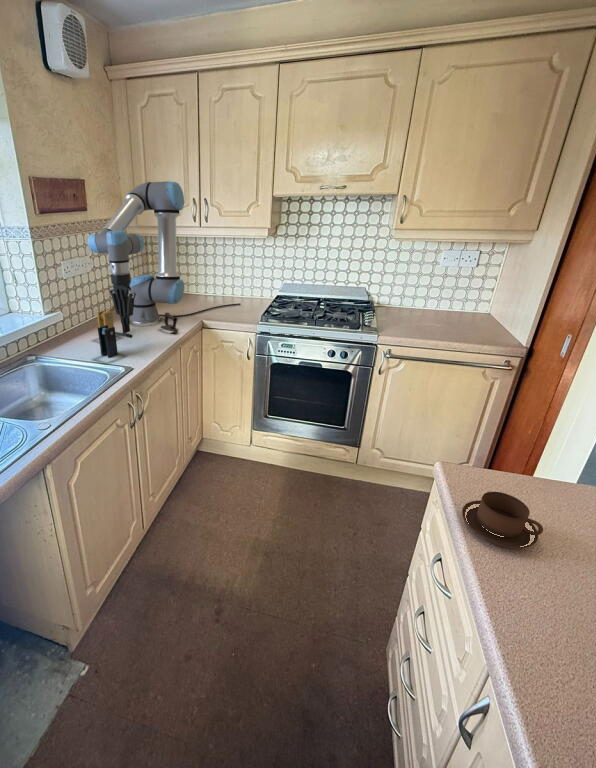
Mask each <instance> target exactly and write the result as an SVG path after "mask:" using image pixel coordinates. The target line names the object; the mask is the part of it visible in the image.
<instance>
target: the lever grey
mask: <svg viewBox="0 0 596 768" xmlns="http://www.w3.org/2000/svg"><path fill="white" fill-rule="evenodd" d="M104 329H107V328H103V329H102V334H104V335H105V331H104ZM115 334H116V336H122V337H126V338H129V339H132V338H133V334H131V333H129V332H127V333H123V332H118V331H115Z"/></svg>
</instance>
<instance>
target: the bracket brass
mask: <svg viewBox="0 0 596 768" xmlns="http://www.w3.org/2000/svg"><path fill="white" fill-rule="evenodd" d="M104 311H105V312H106V313H103V312H104ZM102 313H103V319H104V320H103V319H102V318H101V316H100V315H101V314H102ZM96 316H97V317H96V318H97V323H98V324H97V325H98V327H102V326H105V325H108V328H110V327H115V326H114V317H113V310H112V311H110V312H107V310H106V309H103V310H100V311H99V310H98V311H96Z"/></svg>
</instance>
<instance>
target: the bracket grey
mask: <svg viewBox="0 0 596 768" xmlns="http://www.w3.org/2000/svg"><path fill="white" fill-rule="evenodd" d="M103 328H107V329H104V331H105V335H104V334H102V329H103ZM115 332H116V327H115V326H114V327H110V328H108V325H105V326H102V327H99V326H98V327H97V333H98V341H99V342H98V343H99V349H100V356H102V357H103V356H106V355H107V358H109V359H110V358H111V359H112V358H113V357H116V356H118V355H119V353H118V351H119V350H118V343H117V335H116V334H115Z"/></svg>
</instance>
